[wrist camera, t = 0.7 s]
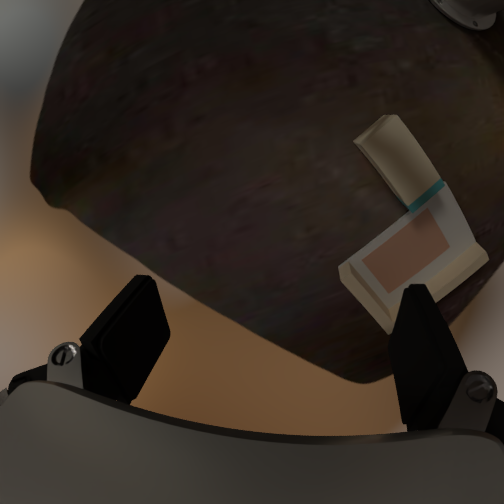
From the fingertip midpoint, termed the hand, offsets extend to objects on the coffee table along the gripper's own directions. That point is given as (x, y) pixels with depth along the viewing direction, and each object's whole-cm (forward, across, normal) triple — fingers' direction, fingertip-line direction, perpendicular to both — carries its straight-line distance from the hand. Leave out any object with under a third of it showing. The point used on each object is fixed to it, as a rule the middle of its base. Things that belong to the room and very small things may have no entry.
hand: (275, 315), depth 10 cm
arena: (+24, -16, +10) cm, 31 cm away
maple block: (+25, -11, -2) cm, 27 cm away
